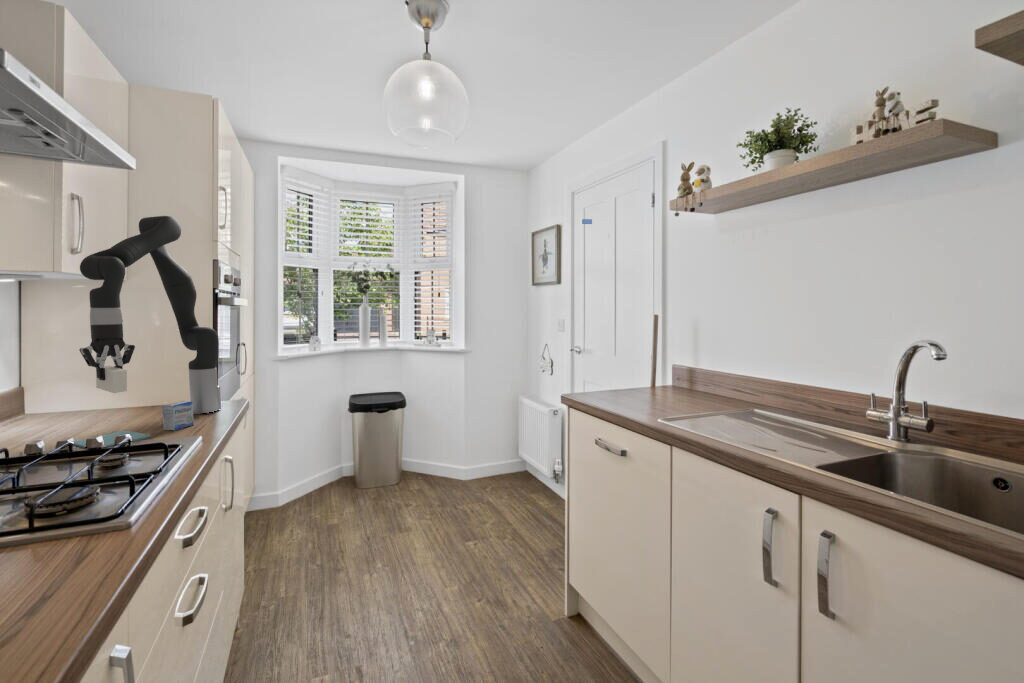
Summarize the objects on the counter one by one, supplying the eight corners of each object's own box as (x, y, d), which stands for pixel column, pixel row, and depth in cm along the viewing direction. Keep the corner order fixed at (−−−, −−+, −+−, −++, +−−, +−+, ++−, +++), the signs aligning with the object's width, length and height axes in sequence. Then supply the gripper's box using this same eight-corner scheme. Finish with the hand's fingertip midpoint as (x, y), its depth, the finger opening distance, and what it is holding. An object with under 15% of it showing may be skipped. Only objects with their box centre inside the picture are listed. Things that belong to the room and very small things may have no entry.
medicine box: (174, 431, 161) (172, 405, 161) (163, 430, 162) (161, 405, 162) (194, 425, 169) (192, 400, 168) (183, 424, 170) (182, 400, 169)
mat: (126, 432, 160) (126, 430, 160) (151, 437, 154) (151, 435, 154) (69, 444, 146) (69, 442, 146) (94, 450, 140) (94, 448, 140)
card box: (113, 371, 144) (96, 366, 148) (113, 393, 145) (96, 387, 149) (126, 370, 147) (109, 365, 151) (126, 391, 148) (109, 385, 152)
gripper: (126, 321, 155) (129, 375, 156) (71, 323, 142) (75, 381, 143) (139, 322, 151) (143, 376, 153) (84, 324, 139) (88, 383, 140)
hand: (110, 378), depth 148 cm, fingers closed on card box, 3 cm apart
